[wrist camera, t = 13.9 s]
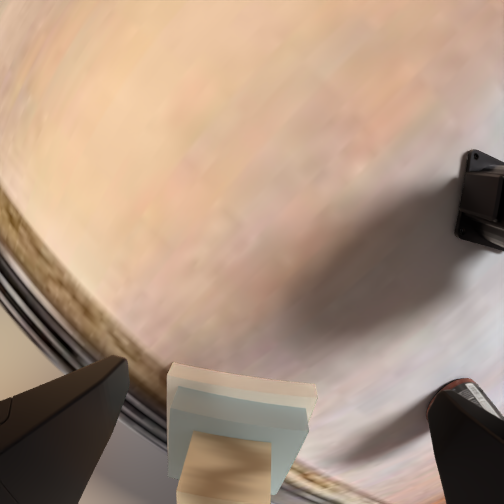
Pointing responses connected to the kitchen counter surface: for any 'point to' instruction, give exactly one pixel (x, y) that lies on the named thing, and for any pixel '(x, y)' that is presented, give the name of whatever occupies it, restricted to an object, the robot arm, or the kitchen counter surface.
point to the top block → (236, 428)
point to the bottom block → (239, 388)
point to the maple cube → (225, 471)
